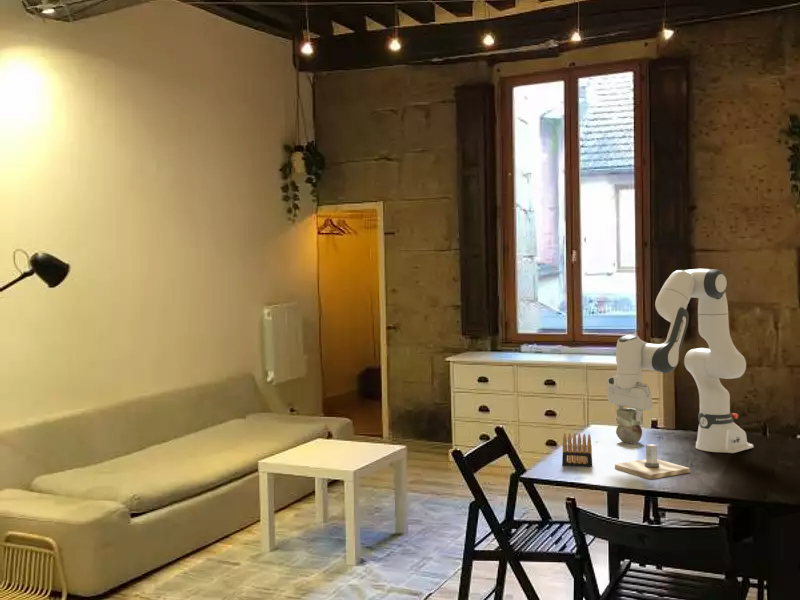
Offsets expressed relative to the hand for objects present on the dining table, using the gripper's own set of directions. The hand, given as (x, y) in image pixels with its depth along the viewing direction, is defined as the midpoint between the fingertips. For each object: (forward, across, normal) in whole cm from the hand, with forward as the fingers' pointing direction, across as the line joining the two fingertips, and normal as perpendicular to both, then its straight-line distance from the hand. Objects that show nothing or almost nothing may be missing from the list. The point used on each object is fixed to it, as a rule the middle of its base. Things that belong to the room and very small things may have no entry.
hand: (630, 419), depth 312 cm
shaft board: (+18, -7, -3) cm, 19 cm away
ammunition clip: (+18, +12, +15) cm, 26 cm away
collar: (+2, 0, 0) cm, 2 cm away
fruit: (+18, +32, -27) cm, 46 cm away
